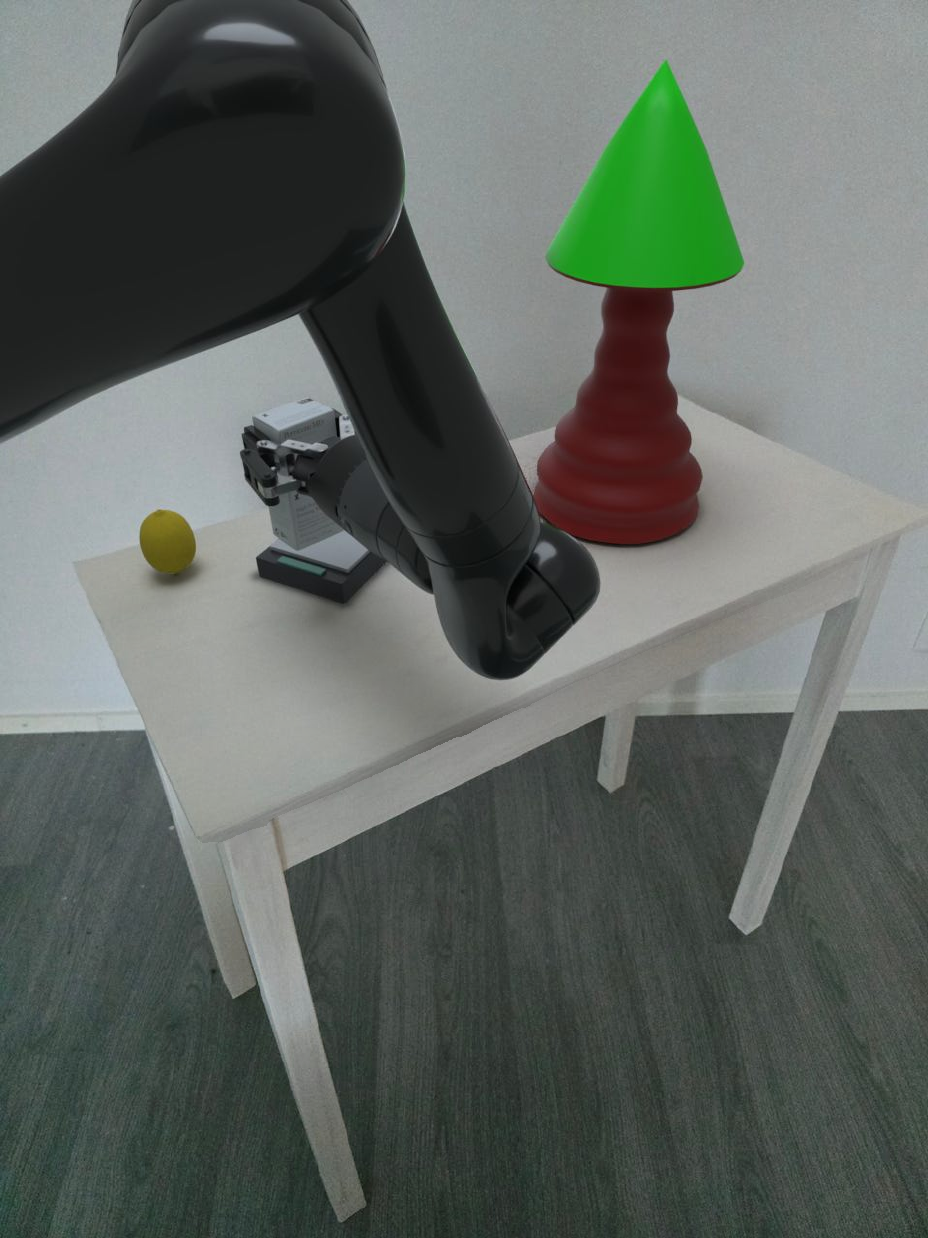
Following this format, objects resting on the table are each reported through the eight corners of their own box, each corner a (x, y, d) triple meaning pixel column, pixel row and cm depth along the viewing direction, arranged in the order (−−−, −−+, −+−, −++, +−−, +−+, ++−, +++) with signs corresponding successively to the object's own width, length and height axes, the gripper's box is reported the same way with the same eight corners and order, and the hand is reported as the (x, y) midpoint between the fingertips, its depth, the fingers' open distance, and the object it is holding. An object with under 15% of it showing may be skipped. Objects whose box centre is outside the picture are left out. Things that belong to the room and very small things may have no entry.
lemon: (156, 594, 88) (136, 530, 83) (146, 567, 92) (126, 504, 87) (208, 579, 90) (192, 515, 85) (196, 553, 94) (180, 491, 89)
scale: (344, 603, 86) (341, 580, 84) (259, 576, 90) (254, 553, 88) (407, 541, 95) (405, 518, 93) (327, 518, 99) (324, 497, 97)
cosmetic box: (298, 553, 76) (277, 431, 69) (271, 535, 79) (247, 415, 71) (351, 527, 80) (337, 408, 72) (323, 510, 82) (306, 394, 75)
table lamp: (733, 515, 99) (834, 59, 71) (601, 567, 91) (654, 77, 63) (625, 449, 112) (674, 44, 84) (502, 489, 104) (510, 57, 76)
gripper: (458, 428, 65) (349, 365, 76) (293, 485, 58) (199, 406, 69) (460, 511, 70) (357, 440, 80) (307, 572, 63) (217, 486, 74)
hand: (284, 425), depth 75 cm, fingers closed on cosmetic box, 6 cm apart
